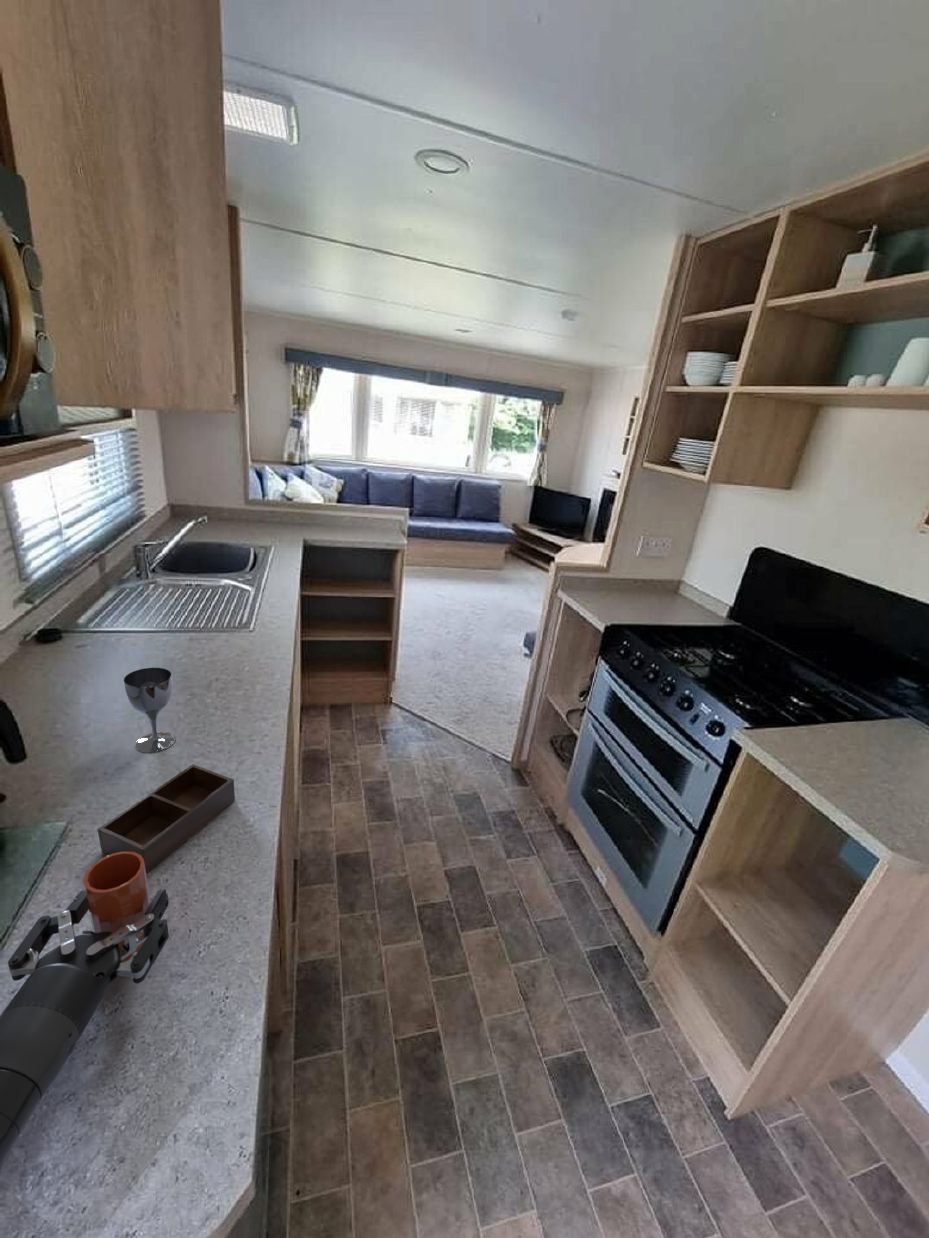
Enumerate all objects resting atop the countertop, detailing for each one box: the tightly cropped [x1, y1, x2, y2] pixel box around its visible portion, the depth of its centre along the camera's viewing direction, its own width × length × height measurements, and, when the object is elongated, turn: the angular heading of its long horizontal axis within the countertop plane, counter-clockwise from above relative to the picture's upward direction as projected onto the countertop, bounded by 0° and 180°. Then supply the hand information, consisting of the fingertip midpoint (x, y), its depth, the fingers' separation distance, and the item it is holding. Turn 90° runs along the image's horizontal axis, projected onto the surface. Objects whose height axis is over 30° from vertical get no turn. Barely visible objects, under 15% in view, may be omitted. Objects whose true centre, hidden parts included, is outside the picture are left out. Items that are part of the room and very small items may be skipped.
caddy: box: [97, 763, 236, 874], centre depth 85 cm, size 9×18×5 cm, turn 160°
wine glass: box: [123, 667, 174, 754], centre depth 102 cm, size 8×8×15 cm
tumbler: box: [82, 851, 151, 962], centre depth 64 cm, size 6×6×13 cm
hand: (128, 892), depth 65 cm, fingers open, 8 cm apart
